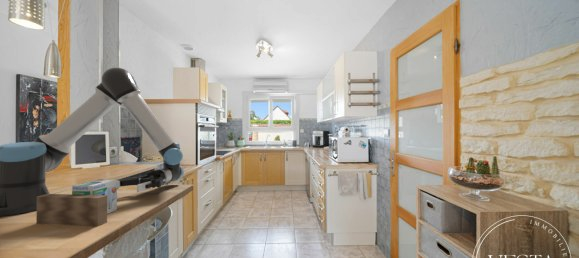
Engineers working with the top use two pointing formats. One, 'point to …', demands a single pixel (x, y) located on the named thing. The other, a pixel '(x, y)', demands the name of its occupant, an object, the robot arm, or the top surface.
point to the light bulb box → (99, 191)
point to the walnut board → (72, 209)
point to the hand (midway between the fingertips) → (120, 188)
